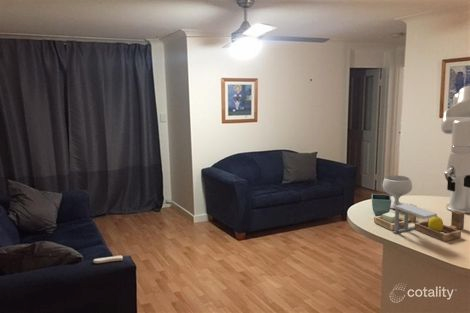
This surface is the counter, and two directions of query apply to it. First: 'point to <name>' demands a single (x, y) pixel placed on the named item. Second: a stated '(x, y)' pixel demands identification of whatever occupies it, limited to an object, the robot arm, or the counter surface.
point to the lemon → (436, 223)
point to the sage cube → (389, 217)
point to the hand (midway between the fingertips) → (459, 188)
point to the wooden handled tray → (444, 227)
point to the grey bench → (408, 209)
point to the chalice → (397, 187)
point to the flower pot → (381, 204)
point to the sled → (392, 226)
